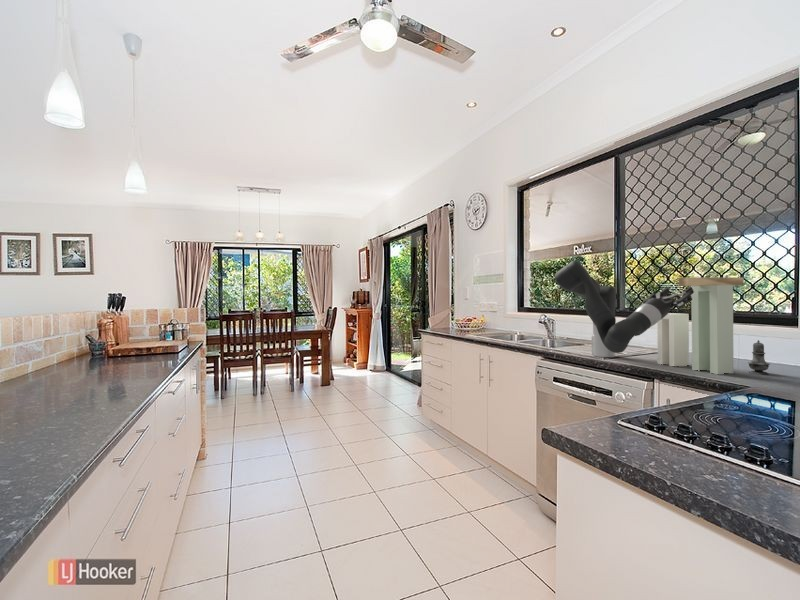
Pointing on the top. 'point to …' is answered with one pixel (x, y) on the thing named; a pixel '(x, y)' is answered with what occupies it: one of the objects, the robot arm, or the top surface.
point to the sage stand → (712, 328)
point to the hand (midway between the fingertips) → (679, 289)
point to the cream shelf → (673, 339)
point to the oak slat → (711, 281)
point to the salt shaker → (758, 360)
